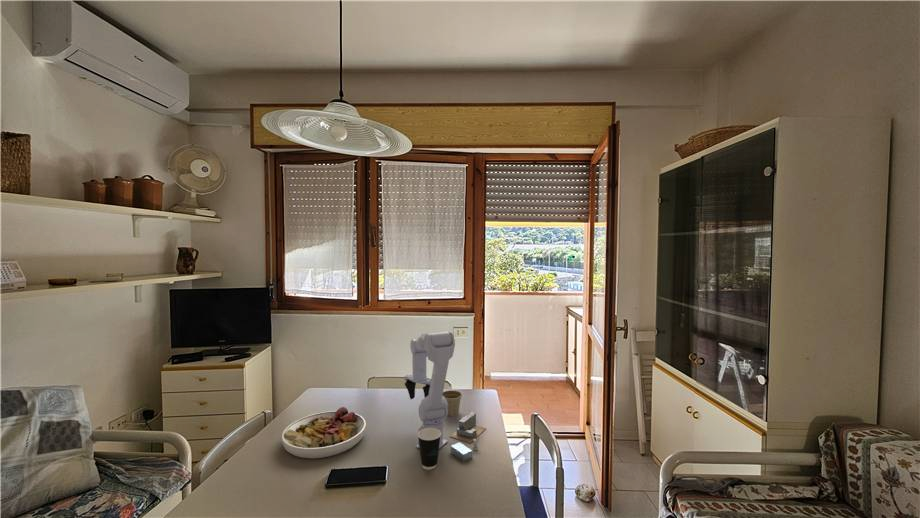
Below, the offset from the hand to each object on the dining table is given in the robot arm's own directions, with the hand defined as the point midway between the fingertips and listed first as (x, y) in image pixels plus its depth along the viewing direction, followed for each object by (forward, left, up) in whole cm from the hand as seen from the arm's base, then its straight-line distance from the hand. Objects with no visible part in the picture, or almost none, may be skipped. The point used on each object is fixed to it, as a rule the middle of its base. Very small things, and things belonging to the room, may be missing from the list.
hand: (419, 400), depth 157 cm
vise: (-9, -28, -10) cm, 31 cm away
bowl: (-29, +23, -10) cm, 38 cm away
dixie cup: (-22, -21, -10) cm, 32 cm away
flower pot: (+15, -6, -10) cm, 19 cm away
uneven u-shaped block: (+5, -22, -10) cm, 24 cm away
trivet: (+4, -21, -10) cm, 24 cm away
